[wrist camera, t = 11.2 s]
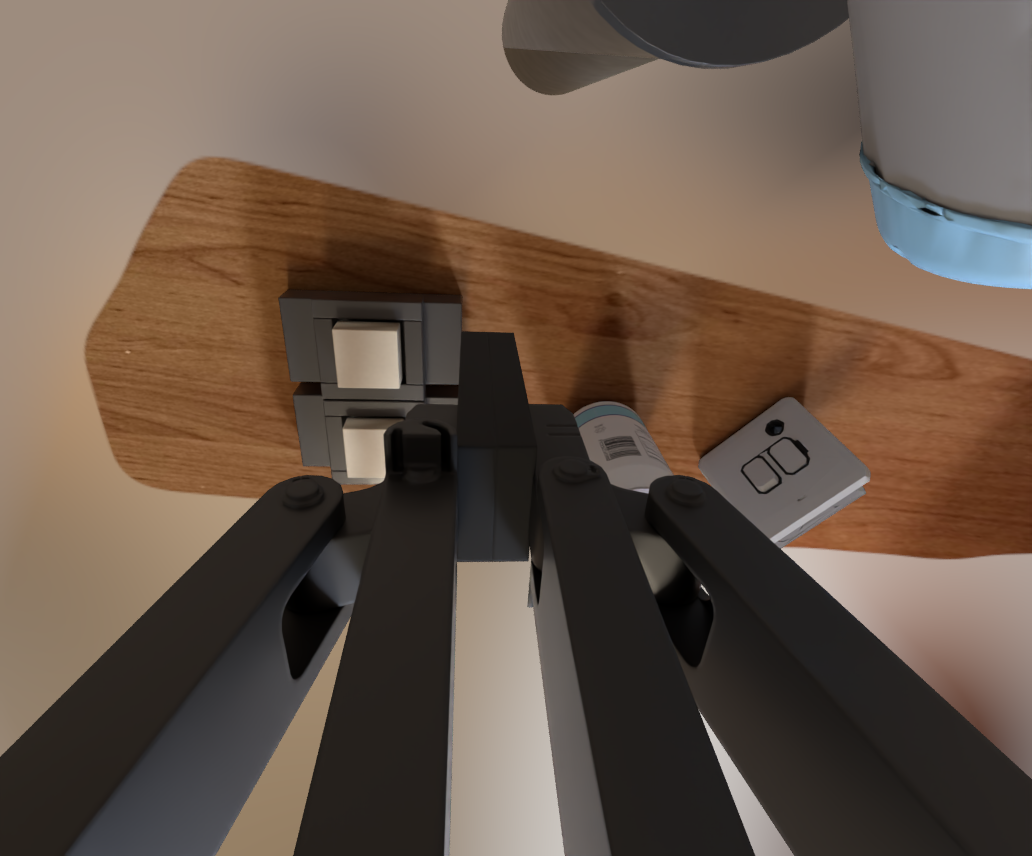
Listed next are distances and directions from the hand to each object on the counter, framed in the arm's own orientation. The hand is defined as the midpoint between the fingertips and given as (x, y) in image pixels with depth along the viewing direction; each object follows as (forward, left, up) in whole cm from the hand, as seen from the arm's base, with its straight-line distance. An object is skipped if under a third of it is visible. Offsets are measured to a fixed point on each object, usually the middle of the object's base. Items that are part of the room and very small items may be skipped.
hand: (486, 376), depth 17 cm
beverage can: (-10, +15, -25) cm, 31 cm away
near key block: (+7, +7, -24) cm, 26 cm away
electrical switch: (-24, +16, -25) cm, 38 cm away
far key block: (+7, +14, -24) cm, 29 cm away
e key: (+7, +14, -21) cm, 26 cm away
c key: (+7, +7, -21) cm, 23 cm away
